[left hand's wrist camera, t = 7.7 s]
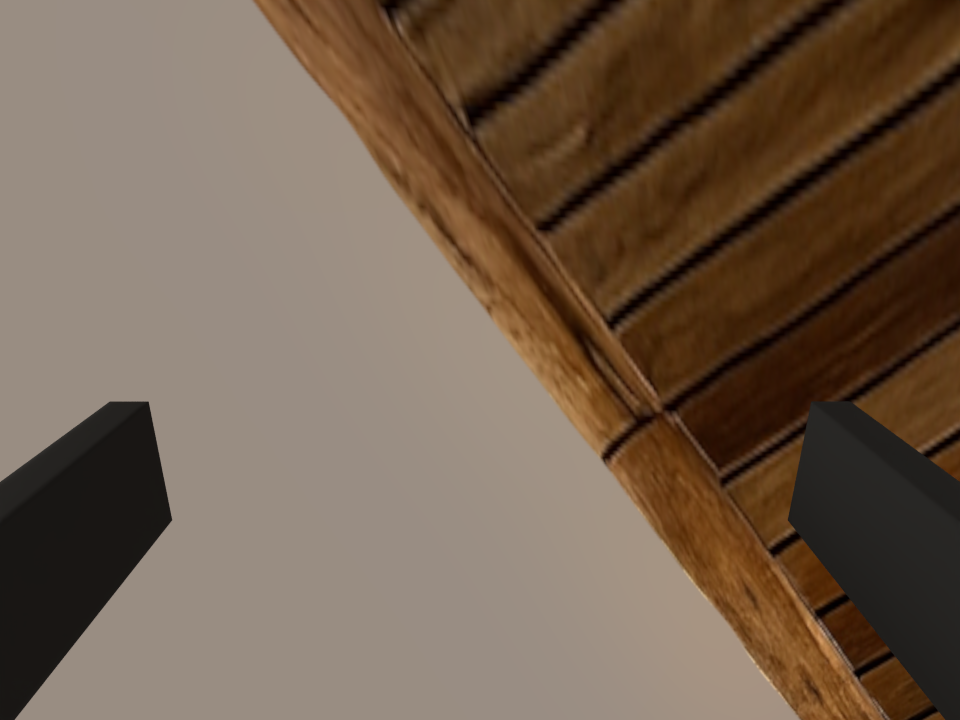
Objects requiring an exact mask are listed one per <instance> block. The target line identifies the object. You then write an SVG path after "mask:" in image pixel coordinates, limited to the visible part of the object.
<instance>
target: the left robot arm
mask: <svg viewBox="0 0 960 720" xmlns="http://www.w3.org/2000/svg"><path fill="white" fill-rule="evenodd" d="M171 521H172V517H171V512H170V507H169V502H168V497H167V492H166V487H165V482H164V477H163V472H162V467H161V462H160V457H159V452H158V447H157V442H156V437H155V432H154V427H153V422H152V417H151V412H150V407H149V402H109V403H107V404H106V405H105V406H103V407H102V408H101V409H99V410H98V411H97V412H95V413H94V414H92V415H91V416H90V417H88V418H87V419H86V420H84V421H83V422H81V423H80V424H79V425H77V426H76V427H75V428H73V429H72V430H71V431H69V432H68V433H67V434H65V435H64V436H62V437H61V438H60V439H58V440H57V441H56V442H54V443H53V444H51V445H50V446H49V447H47V448H46V449H45V450H43V451H42V452H41V453H39V454H38V455H37V456H35V457H34V458H32V459H31V460H30V461H28V462H27V463H26V464H24V465H23V466H21V467H20V468H19V469H17V470H16V471H15V472H13V473H12V474H11V475H9V476H8V477H6V478H5V479H4V480H2V481H1V482H0V720H15V718H16V717H17V716H18V715H19V713H20V712H21V711H22V710H23V708H24V707H25V706H26V705H27V703H28V702H29V701H30V699H31V698H32V697H33V696H34V694H35V693H36V692H37V691H38V689H39V688H40V687H41V686H42V684H43V683H44V682H45V680H46V679H47V678H48V677H49V675H50V674H51V673H52V672H53V670H54V669H55V668H56V667H57V665H58V664H59V663H60V661H61V660H62V659H63V658H64V656H65V655H66V654H67V653H68V651H69V650H70V649H71V647H72V646H73V645H74V644H75V642H76V641H77V640H78V639H79V637H80V636H81V635H82V634H83V632H84V631H85V630H86V629H87V627H88V626H89V625H90V623H91V622H92V621H93V620H94V618H95V617H96V616H97V615H98V613H99V612H100V611H101V610H102V608H103V607H104V606H105V605H106V603H107V602H108V601H109V599H110V598H111V597H112V596H113V594H114V593H115V592H116V591H117V589H118V588H119V587H120V585H121V584H122V583H123V582H124V580H125V579H126V578H127V577H128V575H129V574H130V573H131V572H132V570H133V569H134V568H135V567H136V565H137V564H138V563H139V561H140V560H141V559H142V558H143V556H144V555H145V554H146V553H147V551H148V550H149V549H150V548H151V546H152V545H153V544H154V542H155V541H156V540H157V539H158V537H159V536H160V535H161V534H162V532H163V531H164V530H165V528H166V527H167V526H168V525H169V523H170V522H171ZM788 521H789V522H790V523H791V525H792V526H793V527H794V529H795V530H796V531H797V532H798V534H799V535H800V536H801V537H802V539H803V540H804V541H805V542H806V544H807V545H808V546H809V548H810V549H811V550H812V551H813V553H814V554H815V555H816V556H817V558H818V559H819V560H820V561H821V563H822V564H823V565H824V567H825V568H826V569H827V570H828V572H829V573H830V574H831V575H832V577H833V578H834V579H835V580H836V582H837V583H838V584H839V586H840V587H841V588H842V589H843V591H844V592H845V593H846V594H847V596H848V597H849V598H850V599H851V601H852V602H853V603H854V605H855V606H856V607H857V608H858V610H859V611H860V612H861V613H862V615H863V616H864V617H865V618H866V620H867V621H868V622H869V623H870V625H871V626H872V627H873V629H874V630H875V631H876V632H877V634H878V635H879V636H880V637H881V639H882V640H883V641H884V642H885V644H886V645H887V646H888V648H889V649H890V650H891V651H892V653H893V654H894V655H895V656H896V658H897V659H898V660H899V661H900V663H901V664H902V665H903V667H904V668H905V669H906V670H907V672H908V673H909V674H910V675H911V677H912V678H913V679H914V680H915V682H916V683H917V684H918V686H919V687H920V688H921V689H922V691H923V692H924V693H925V694H926V696H927V697H928V698H929V699H930V701H931V702H932V703H933V705H934V706H935V707H936V708H937V710H938V711H939V712H940V713H941V715H942V716H943V717H944V718H945V720H960V482H959V481H958V480H956V479H955V478H954V477H952V476H951V475H949V474H948V473H947V472H945V471H944V470H943V469H941V468H940V467H939V466H937V465H936V464H934V463H933V462H932V461H930V460H929V459H928V458H926V457H925V456H924V455H922V454H921V453H919V452H918V451H917V450H915V449H914V448H913V447H911V446H910V445H909V444H907V443H906V442H904V441H903V440H902V439H900V438H899V437H898V436H896V435H895V434H894V433H892V432H891V431H889V430H888V429H887V428H885V427H884V426H883V425H881V424H880V423H879V422H877V421H876V420H874V419H873V418H872V417H870V416H869V415H868V414H866V413H865V412H864V411H862V410H861V409H859V408H858V407H857V406H855V405H854V404H853V403H851V402H811V406H810V411H809V417H808V422H807V427H806V432H805V437H804V442H803V447H802V452H801V457H800V462H799V467H798V472H797V477H796V482H795V487H794V492H793V497H792V502H791V507H790V512H789V517H788Z"/></svg>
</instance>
